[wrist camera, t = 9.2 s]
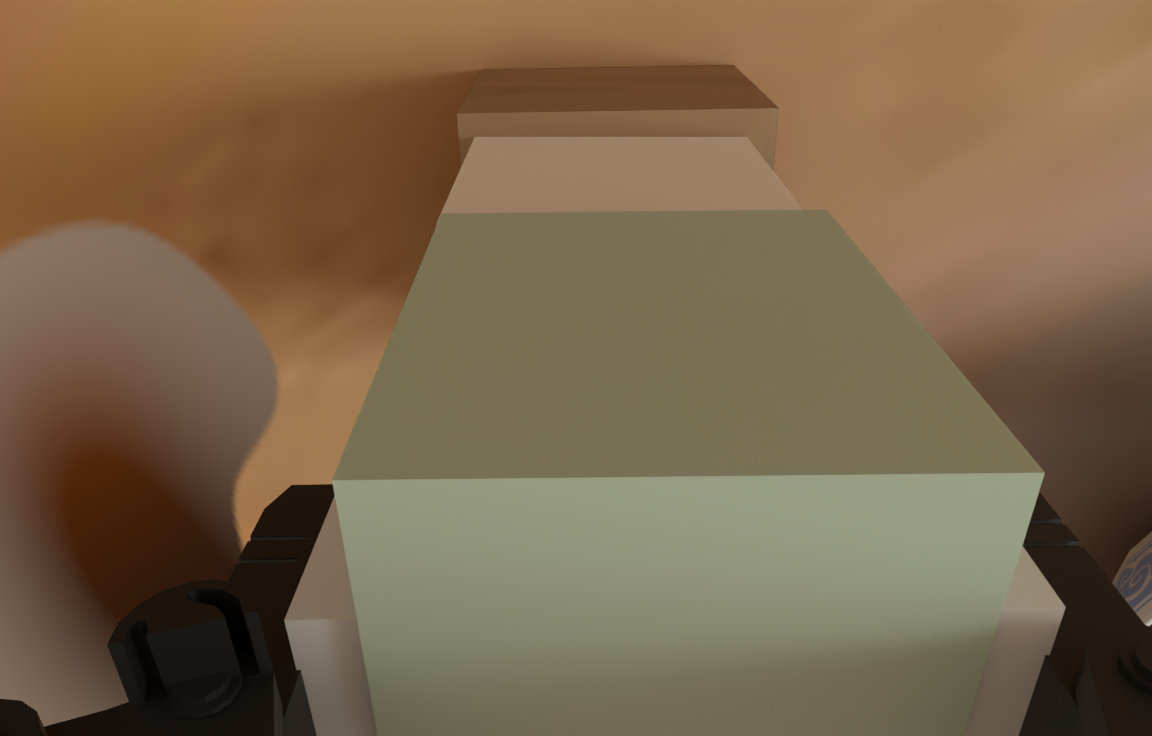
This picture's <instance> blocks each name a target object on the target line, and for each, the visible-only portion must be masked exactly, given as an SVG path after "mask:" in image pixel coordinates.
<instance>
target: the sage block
mask: <svg viewBox="0 0 1152 736" xmlns="http://www.w3.org/2000/svg"><path fill="white" fill-rule="evenodd" d="M1044 475H1045V472H1044V471H1043V470H1042V468H1041V467H1040V466H1039V465H1038V464H1037V462H1036V461H1035V460H1034V459H1033V458H1032V456H1031V455H1030V454H1029V453H1028V452H1027V450H1026V449H1025V448H1024V447H1023V446H1022V444H1021V443H1020V442H1019V441H1018V440H1017V438H1016V437H1015V436H1014V435H1013V434H1012V432H1011V431H1010V430H1009V429H1008V427H1007V426H1006V425H1005V424H1004V423H1003V421H1002V420H1001V419H1000V418H999V417H998V415H997V414H996V413H995V412H994V411H993V409H992V408H991V407H990V406H989V405H988V403H987V402H986V401H985V400H984V399H983V397H982V396H981V395H980V394H979V393H978V391H977V390H976V389H975V388H974V387H973V385H972V384H971V383H970V382H969V381H968V379H967V378H966V377H965V376H964V375H963V373H962V372H961V371H960V370H959V369H958V367H957V366H956V365H955V364H954V363H953V361H952V360H951V359H950V358H949V357H948V355H947V354H946V353H945V352H944V351H943V349H942V348H941V347H940V346H939V345H938V343H937V342H936V341H935V340H934V338H933V337H932V336H931V335H930V334H929V332H928V331H927V330H926V329H925V328H924V326H923V325H922V324H921V323H920V322H919V320H918V319H917V318H916V317H915V316H914V314H913V313H912V312H911V311H910V310H909V308H908V307H907V306H906V305H905V304H904V302H903V301H902V300H901V299H900V298H899V296H898V295H897V294H896V293H895V292H894V290H893V289H892V288H891V287H890V286H889V284H888V283H887V282H886V281H885V280H884V278H883V277H882V276H881V275H880V274H879V272H878V271H877V270H876V269H875V268H874V266H873V265H872V264H871V263H870V262H869V260H868V259H867V258H866V257H865V256H864V254H863V253H862V252H861V251H860V249H859V248H858V247H857V246H856V245H855V243H854V242H853V241H852V240H851V239H850V237H849V236H848V235H847V234H846V233H845V231H844V230H843V229H842V228H841V227H840V225H839V224H838V223H837V222H836V221H835V219H834V218H833V217H832V216H831V215H830V213H829V212H828V211H827V210H730V211H632V212H534V213H442V214H441V216H440V219H439V221H438V223H437V226H436V228H435V231H434V233H433V236H432V238H431V241H430V243H429V245H428V248H427V250H426V253H425V255H424V258H423V260H422V262H421V265H420V267H419V270H418V272H417V275H416V277H415V279H414V282H413V284H412V287H411V289H410V292H409V294H408V296H407V299H406V301H405V304H404V306H403V309H402V311H401V314H400V316H399V318H398V321H397V323H396V326H395V328H394V331H393V333H392V335H391V338H390V340H389V343H388V345H387V348H386V350H385V352H384V355H383V357H382V360H381V362H380V365H379V367H378V369H377V372H376V374H375V377H374V379H373V382H372V384H371V387H370V389H369V391H368V394H367V396H366V399H365V401H364V404H363V406H362V408H361V411H360V413H359V416H358V418H357V421H356V423H355V425H354V428H353V430H352V433H351V435H350V438H349V440H348V442H347V445H346V447H345V450H344V452H343V455H342V457H341V460H340V462H339V464H338V467H337V469H336V472H335V474H334V477H333V479H332V483H333V489H334V494H335V500H336V506H337V511H338V517H339V522H340V528H341V534H342V539H343V545H344V551H345V556H346V562H347V567H348V573H349V579H350V584H351V590H352V595H353V601H354V607H355V612H356V618H357V623H358V629H359V635H360V640H361V646H362V652H363V657H364V663H365V668H366V674H367V680H368V685H369V691H370V696H371V702H372V708H373V713H374V719H375V724H376V730H377V736H963V735H964V732H965V729H966V726H967V723H968V719H969V716H970V713H971V710H972V706H973V703H974V700H975V697H976V694H977V690H978V687H979V684H980V681H981V677H982V674H983V671H984V668H985V665H986V661H987V658H988V655H989V652H990V648H991V645H992V642H993V639H994V636H995V632H996V629H997V626H998V623H999V619H1000V616H1001V613H1002V610H1003V607H1004V603H1005V600H1006V597H1007V594H1008V590H1009V587H1010V584H1011V581H1012V578H1013V574H1014V571H1015V568H1016V565H1017V562H1018V558H1019V555H1020V552H1021V549H1022V545H1023V542H1024V539H1025V536H1026V533H1027V529H1028V526H1029V523H1030V520H1031V516H1032V513H1033V510H1034V507H1035V504H1036V500H1037V497H1038V494H1039V491H1040V487H1041V484H1042V481H1043V478H1044Z"/></svg>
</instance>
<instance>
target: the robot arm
mask: <svg viewBox="0 0 1152 736" xmlns="http://www.w3.org/2000/svg"><path fill="white" fill-rule="evenodd" d="M1078 543H1079V541H1078V540H1077V539H1076V537H1075V536H1074V535H1073V534H1072V532H1071V531H1070V530H1069V529H1068V527H1067V526H1066V525H1062V524H1061V518H1060V517H1059V516H1058V515H1057V513H1056V512H1055V511H1054V510H1053V508H1052V507H1051V506H1050V505H1049V503H1048V502H1047V501H1046V500H1045V498H1044V497H1043V496H1042V495H1041V493H1040V492H1039V494H1038V497H1037V500H1036V504H1035V507H1034V510H1033V513H1032V516H1031V520H1030V523H1029V526H1028V529H1027V533H1026V536H1025V539H1024V542H1023V545H1022V549H1021V552H1020V555H1019V558H1018V562H1017V565H1016V568H1015V571H1014V574H1013V578H1012V581H1011V584H1010V587H1009V590H1008V594H1007V597H1006V600H1005V603H1004V607H1003V610H1002V613H1001V616H1000V619H999V623H998V626H997V629H996V632H995V636H994V639H993V642H992V645H991V648H990V652H989V655H988V658H987V661H986V665H985V668H984V671H983V674H982V677H981V681H980V684H979V687H978V690H977V694H976V697H975V700H974V703H973V706H972V710H971V713H970V716H969V719H968V723H967V726H966V729H965V732H964V735H963V736H1152V627H1150V626H1147V625H1145V624H1144V623H1143V621H1142V620H1141V619H1140V618H1139V616H1138V615H1137V614H1136V613H1135V611H1134V610H1133V609H1132V608H1131V606H1130V605H1129V604H1128V603H1127V601H1126V600H1125V599H1124V598H1123V596H1122V595H1121V594H1120V593H1119V591H1118V590H1117V589H1116V588H1115V586H1114V585H1113V584H1112V583H1111V581H1110V580H1109V579H1108V578H1107V576H1106V575H1105V574H1104V573H1103V571H1102V570H1101V569H1100V567H1099V566H1098V565H1097V564H1096V562H1095V561H1094V560H1093V559H1092V557H1091V556H1090V555H1089V554H1088V552H1087V551H1086V550H1085V549H1084V547H1079V544H1078ZM108 648H109V650H110V653H111V656H112V658H113V661H114V663H115V666H116V669H117V671H118V674H119V676H120V678H121V681H122V684H123V687H124V689H125V692H126V695H127V697H128V700H129V702H127V703H125V704H122V705H119V706H116V707H113V708H110V709H108V710H104V711H101V712H97V713H94V714H90V715H86V716H82V717H78V718H75V719H71V720H67V721H64V722H60V723H56V724H53V725H49V726H46V727H44V726H43V724H42V722H41V720H40V717H39V715H38V713H37V711H35V710H34V709H32V708H31V707H30V706H28V705H27V704H25V703H24V702H22V701H17V700H6V699H0V736H377V730H376V724H375V719H374V713H373V708H372V702H371V696H370V691H369V685H368V680H367V674H366V668H365V663H364V657H363V652H362V646H361V640H360V635H359V629H358V623H357V618H356V612H355V607H354V601H353V595H352V590H351V584H350V579H349V573H348V567H347V562H346V556H345V551H344V545H343V539H342V534H341V528H340V522H339V517H338V511H337V506H336V500H335V494H334V489H333V484H327V485H291V486H290V487H289V488H288V489H287V490H286V491H284V492H283V493H282V494H281V495H280V496H279V497H278V498H276V499H275V500H274V501H273V502H272V503H271V504H270V505H268V506H267V507H266V508H265V509H264V511H263V513H262V515H261V517H260V519H259V521H258V522H257V524H256V526H255V528H254V530H253V532H252V534H251V540H250V541H248V542H247V544H246V546H245V548H244V550H243V552H242V554H241V556H240V558H239V564H236V565H235V567H234V569H233V571H232V573H231V575H230V577H229V579H228V581H222V580H217V579H214V580H202V581H191V582H187V583H184V584H181V585H178V586H175V587H172V588H169V589H166V590H163V591H160V592H159V593H157V594H155V595H154V596H152V597H150V598H148V599H147V600H145V601H143V602H142V603H140V604H138V605H137V606H136V607H135V608H134V609H133V610H131V611H130V612H129V613H128V614H127V615H126V616H125V617H124V618H123V619H122V620H121V621H120V622H119V623H118V624H117V626H116V628H115V630H114V632H113V634H112V636H111V638H110V640H109V642H108Z"/></svg>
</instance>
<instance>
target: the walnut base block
mask: <svg viewBox="0 0 1152 736" xmlns="http://www.w3.org/2000/svg"><path fill="white" fill-rule="evenodd" d="M778 112H779V108H778V107H777V106H776V105H775V104H774V103H773V102H772V101H771V100H770V99H769V98H768V97H767V96H766V95H764V94H763V93H762V92H761V91H760V90H759V89H758V88H757V87H756V86H755V85H754V84H753V83H752V82H751V81H750V80H749V79H748V78H747V77H746V76H745V75H744V74H743V73H741V72H740V71H739V70H738V69H737V68H736V67H735V66H734V65H712V66H653V67H593V68H534V69H482V70H481V72H480V74H479V76H478V77H477V79H476V81H475V83H474V84H473V86H472V88H471V89H470V91H469V93H468V95H467V96H466V98H465V100H464V102H463V103H462V105H461V107H460V108H459V110H458V112H457V125H458V138H459V151H460V163H461V167H462V164H463V162H464V160H465V158H466V155H467V153H468V151H469V149H470V146H471V144H472V142H473V139H474V137H748V139H749V140H750V141H751V143H752V144H753V145H754V147H755V148H756V149H757V150H758V152H759V153H760V154H761V156H762V157H763V158H764V159H765V161H766V162H767V163H768V165H769V166H770V167H771V169H772V170H773V165H774V154H775V144H776V133H777V122H778Z"/></svg>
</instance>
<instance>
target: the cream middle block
mask: <svg viewBox="0 0 1152 736" xmlns="http://www.w3.org/2000/svg"><path fill="white" fill-rule="evenodd" d="M730 210H803V209H802V207H801V206H800V205H799V204H798V202H797V201H796V200H795V198H794V197H793V196H792V194H791V193H790V192H789V191H788V189H787V188H786V187H785V185H784V184H783V183H782V181H781V180H780V179H779V178H778V176H777V175H776V174H775V172H774V171H773V170H772V169H771V167H770V166H769V165H768V163H767V162H766V161H765V159H764V158H763V157H762V156H761V154H760V153H759V152H758V150H757V149H756V148H755V147H754V145H753V144H752V143H751V141H750V140H749V139H748V137H474V139H473V142H472V144H471V146H470V149H469V151H468V153H467V155H466V158H465V160H464V162H463V164H462V167H461V169H460V171H459V173H458V176H457V178H456V180H455V182H454V185H453V187H452V189H451V192H450V194H449V196H448V198H447V201H446V203H445V205H444V207H443V210H442V212H441V214H442V213H534V212H632V211H730ZM441 214H440V216H441ZM440 216H439V219H440ZM439 219H438V221H439ZM438 221H437V223H438ZM437 223H436V226H437Z"/></svg>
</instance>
